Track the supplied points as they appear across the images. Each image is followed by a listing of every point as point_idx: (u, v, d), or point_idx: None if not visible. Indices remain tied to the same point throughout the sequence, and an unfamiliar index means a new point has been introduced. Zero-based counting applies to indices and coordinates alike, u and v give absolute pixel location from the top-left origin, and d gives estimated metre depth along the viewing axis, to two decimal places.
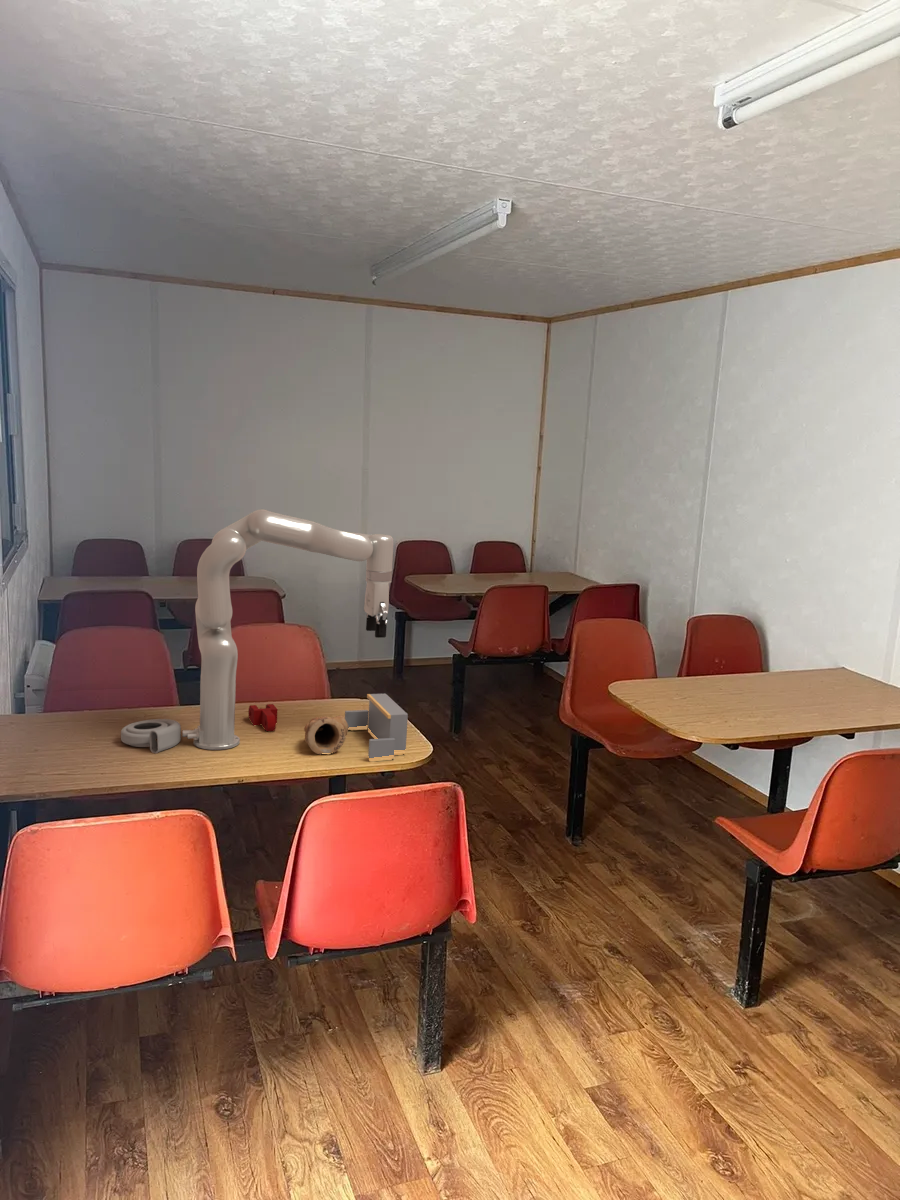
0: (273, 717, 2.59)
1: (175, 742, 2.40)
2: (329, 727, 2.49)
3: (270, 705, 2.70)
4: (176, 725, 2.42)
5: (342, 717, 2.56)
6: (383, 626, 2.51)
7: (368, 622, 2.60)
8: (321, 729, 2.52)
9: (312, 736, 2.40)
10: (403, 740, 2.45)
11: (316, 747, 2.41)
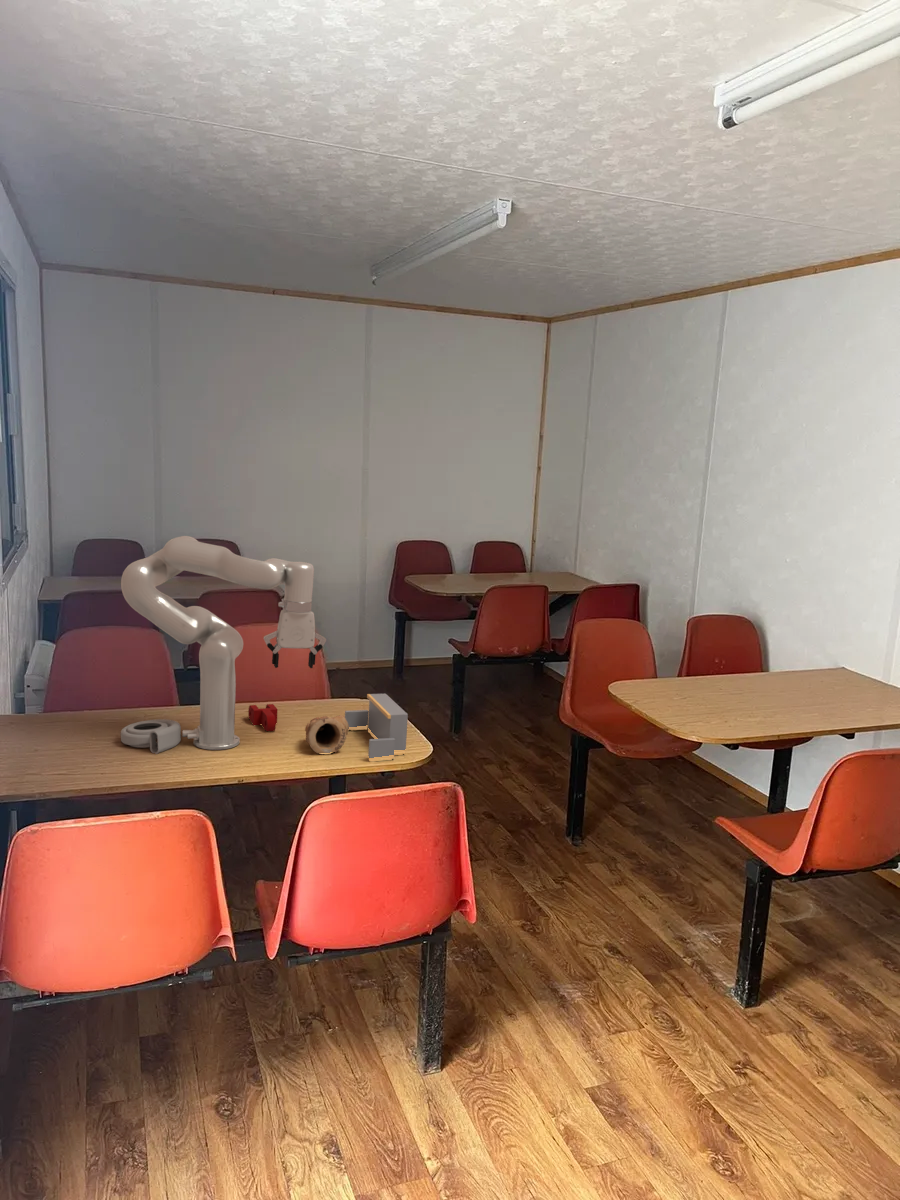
0: (273, 717, 2.59)
1: (175, 742, 2.40)
2: (330, 727, 2.49)
3: (270, 705, 2.70)
4: (176, 725, 2.41)
5: (342, 717, 2.57)
6: None
7: None
8: (322, 729, 2.52)
9: (313, 736, 2.40)
10: (403, 740, 2.45)
11: (317, 747, 2.41)
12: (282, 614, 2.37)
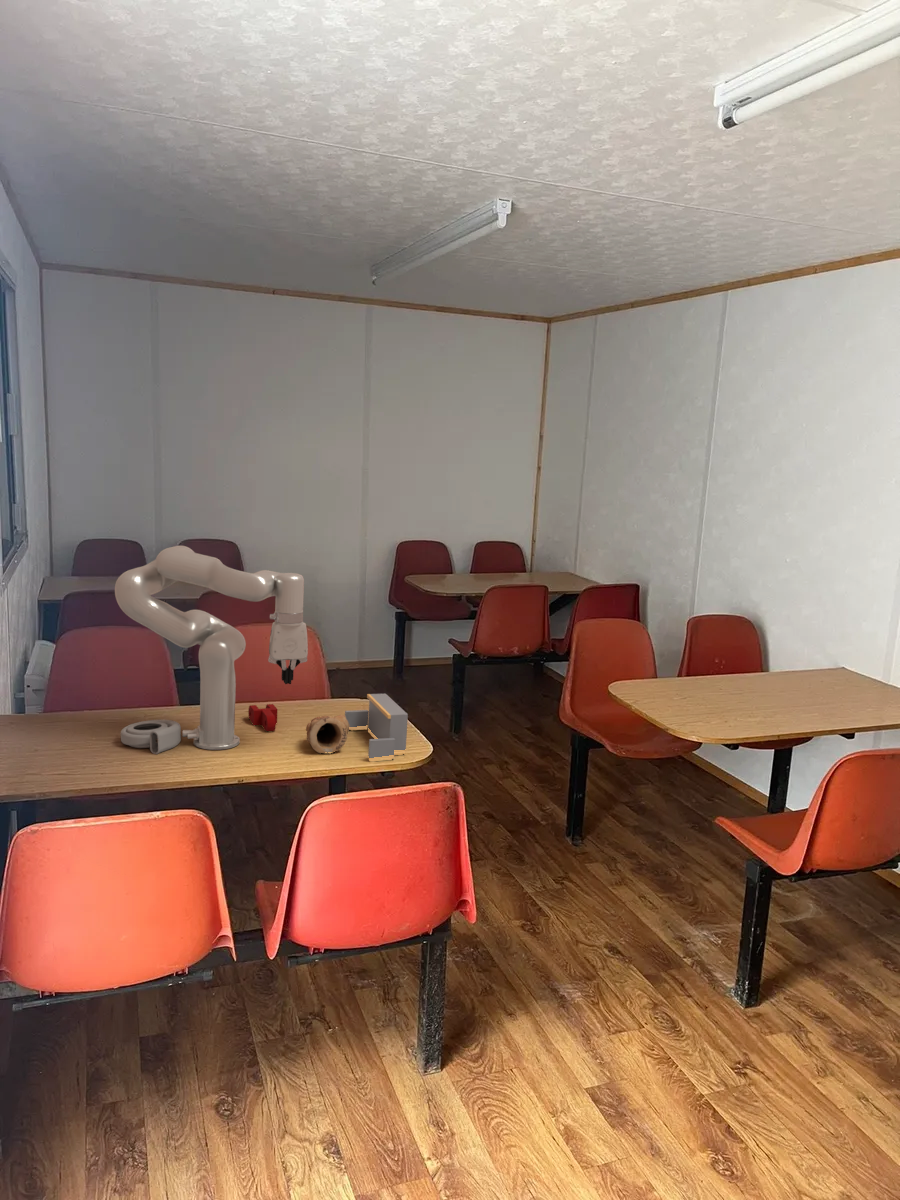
0: (273, 717, 2.59)
1: (175, 743, 2.39)
2: (330, 726, 2.49)
3: (270, 705, 2.69)
4: (176, 726, 2.41)
5: (343, 716, 2.57)
6: None
7: (288, 674, 2.40)
8: (322, 728, 2.53)
9: (314, 735, 2.41)
10: (403, 740, 2.45)
11: (318, 746, 2.41)
12: (274, 626, 2.36)
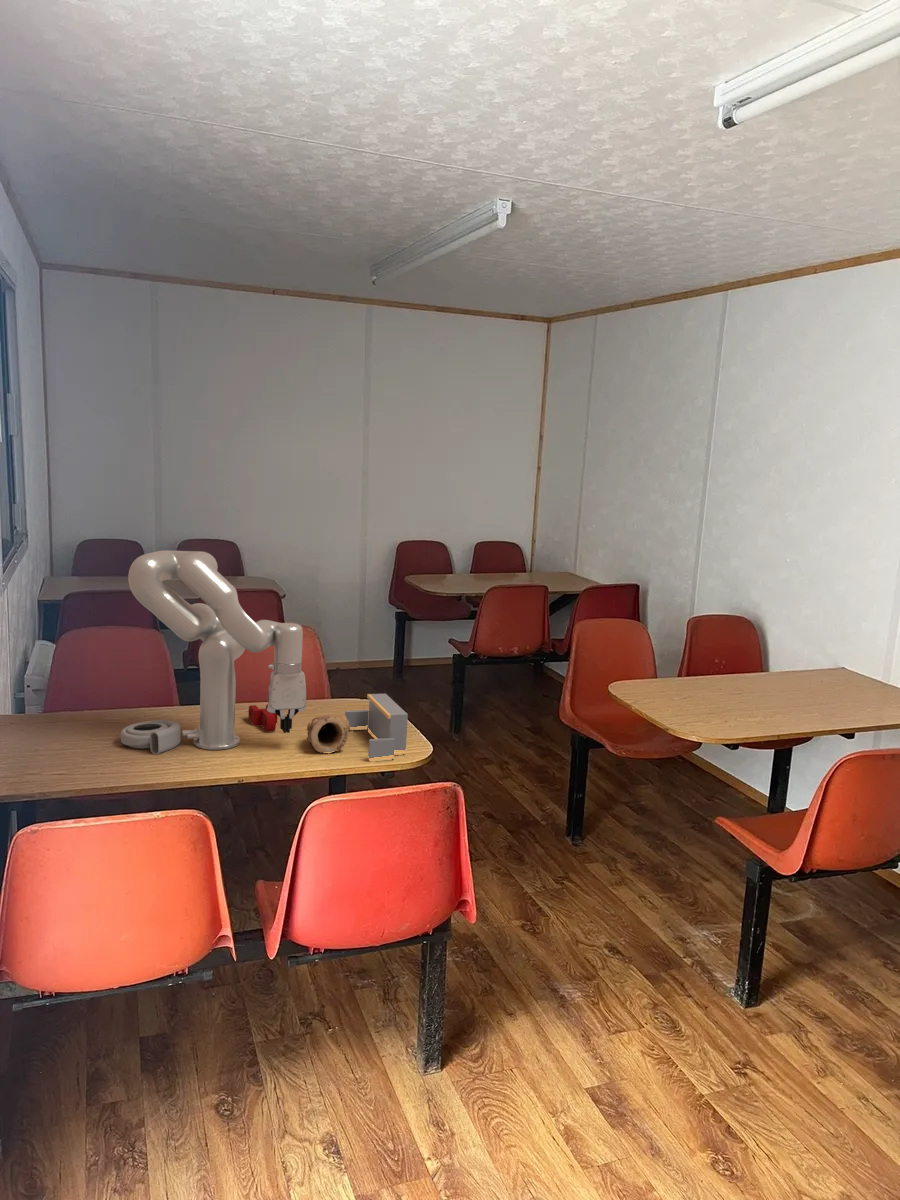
0: (273, 717, 2.59)
1: (175, 743, 2.39)
2: (331, 726, 2.50)
3: None
4: (176, 726, 2.41)
5: (344, 716, 2.58)
6: None
7: None
8: (323, 728, 2.53)
9: (315, 735, 2.41)
10: (403, 740, 2.45)
11: (319, 746, 2.42)
12: (273, 676, 2.38)
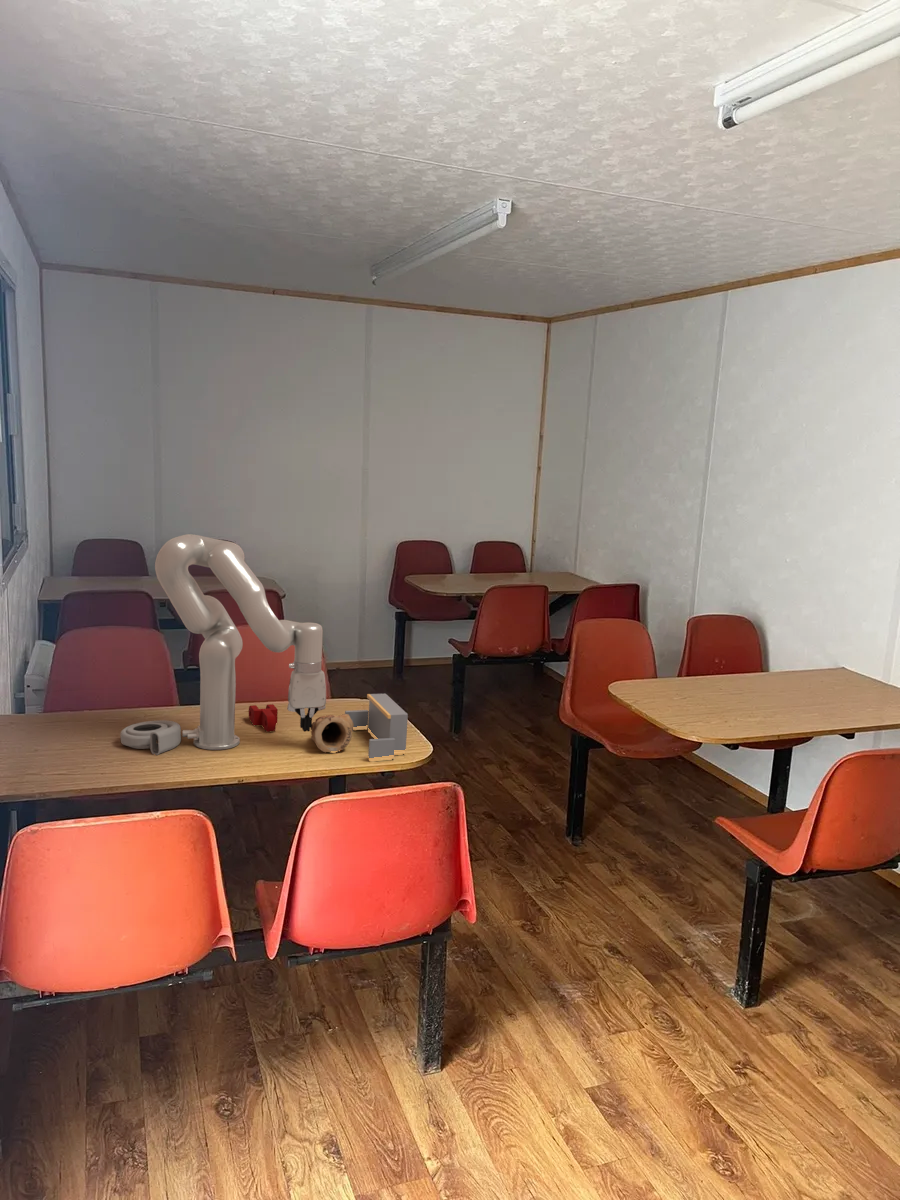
0: (273, 717, 2.59)
1: (175, 743, 2.39)
2: (335, 725, 2.50)
3: (270, 705, 2.69)
4: (176, 726, 2.40)
5: (347, 715, 2.58)
6: None
7: None
8: (327, 727, 2.54)
9: (319, 734, 2.42)
10: (403, 740, 2.45)
11: (323, 745, 2.42)
12: (293, 675, 2.40)
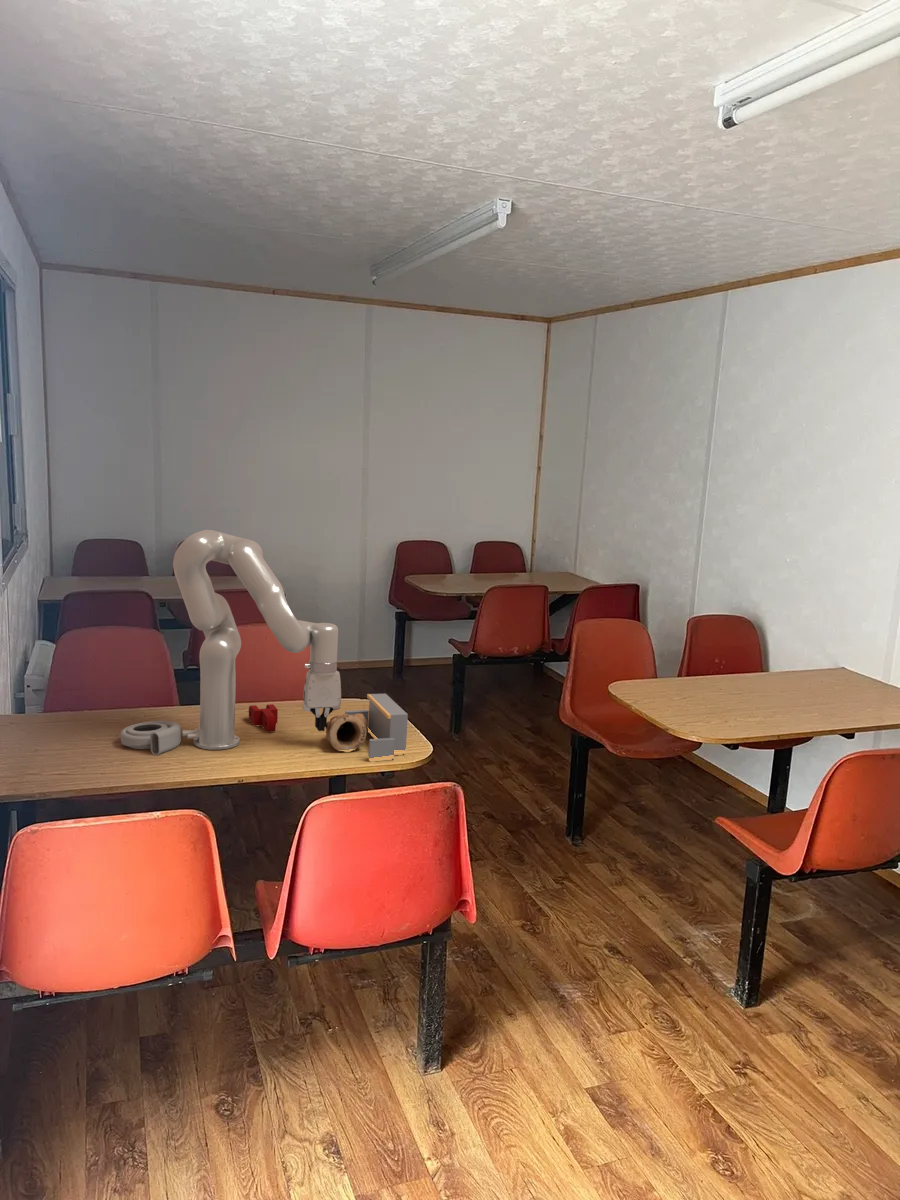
0: (273, 717, 2.59)
1: (176, 744, 2.39)
2: (350, 725, 2.52)
3: (270, 705, 2.69)
4: (176, 727, 2.40)
5: (361, 715, 2.60)
6: None
7: None
8: (341, 727, 2.55)
9: (334, 734, 2.43)
10: (403, 740, 2.45)
11: (338, 745, 2.44)
12: (309, 675, 2.42)
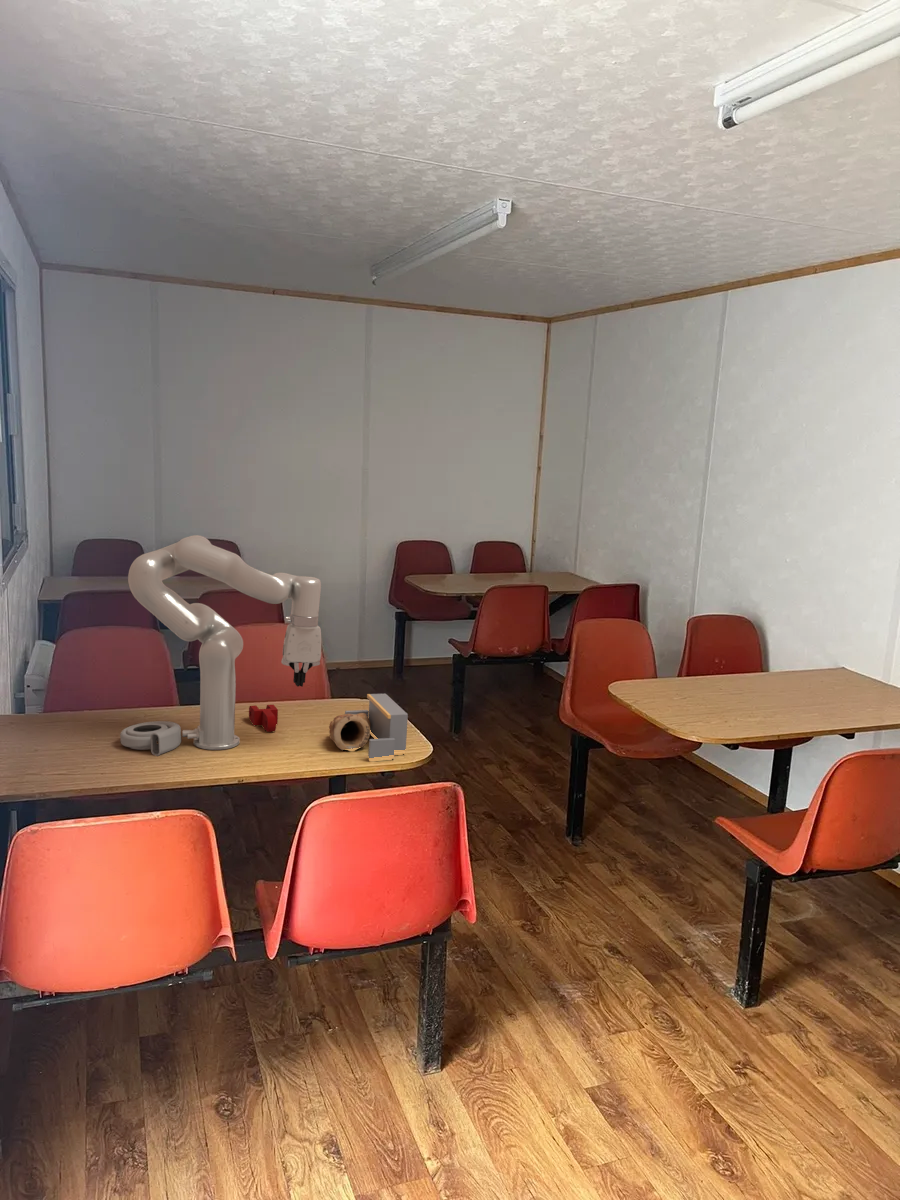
0: (273, 717, 2.58)
1: (176, 744, 2.38)
2: (353, 724, 2.53)
3: (270, 705, 2.69)
4: (176, 727, 2.40)
5: (364, 714, 2.61)
6: None
7: (300, 677, 2.42)
8: (344, 726, 2.56)
9: (338, 733, 2.44)
10: (403, 740, 2.45)
11: (342, 744, 2.45)
12: (289, 629, 2.38)
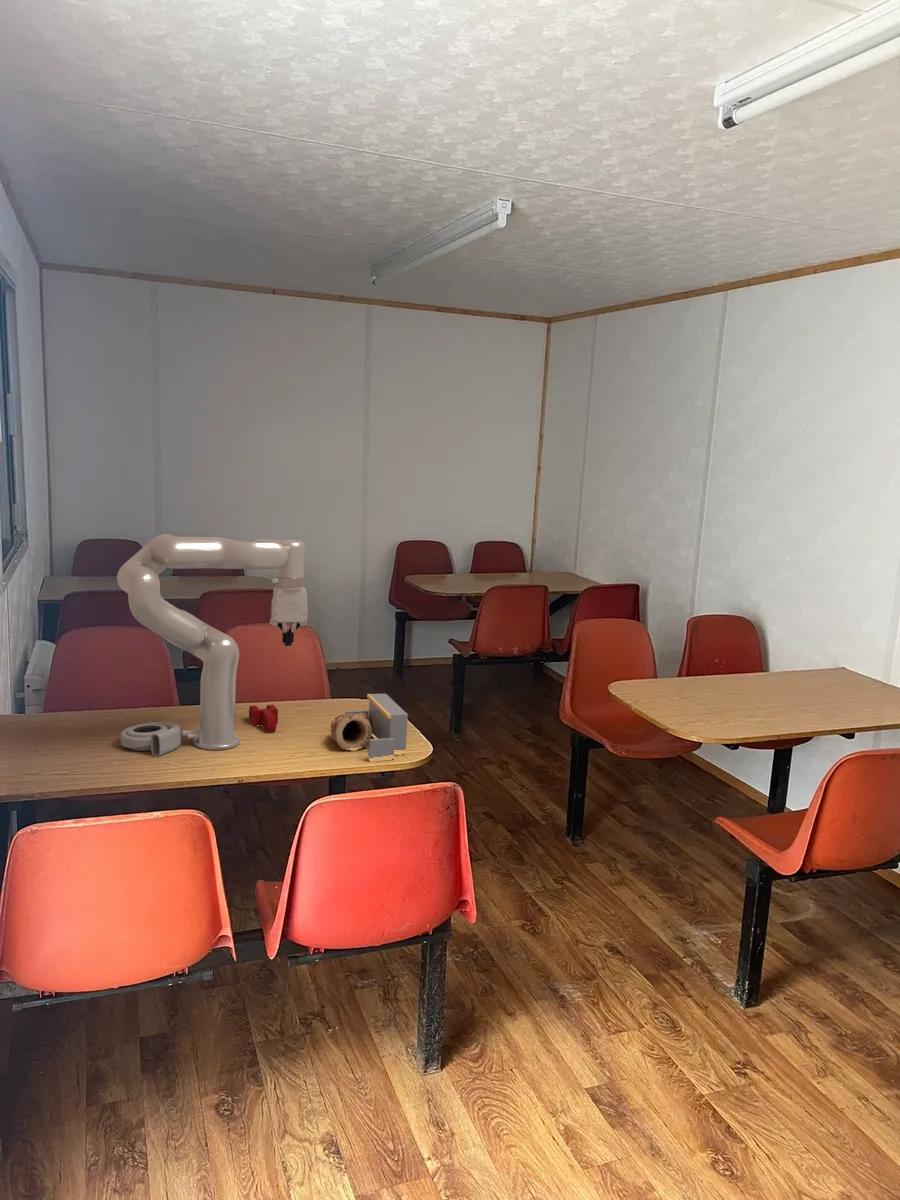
0: (273, 718, 2.58)
1: (176, 745, 2.38)
2: (354, 724, 2.53)
3: (270, 706, 2.69)
4: (177, 728, 2.39)
5: (365, 714, 2.61)
6: None
7: None
8: (345, 726, 2.57)
9: (340, 733, 2.44)
10: (403, 740, 2.45)
11: (344, 743, 2.45)
12: (276, 590, 2.48)
